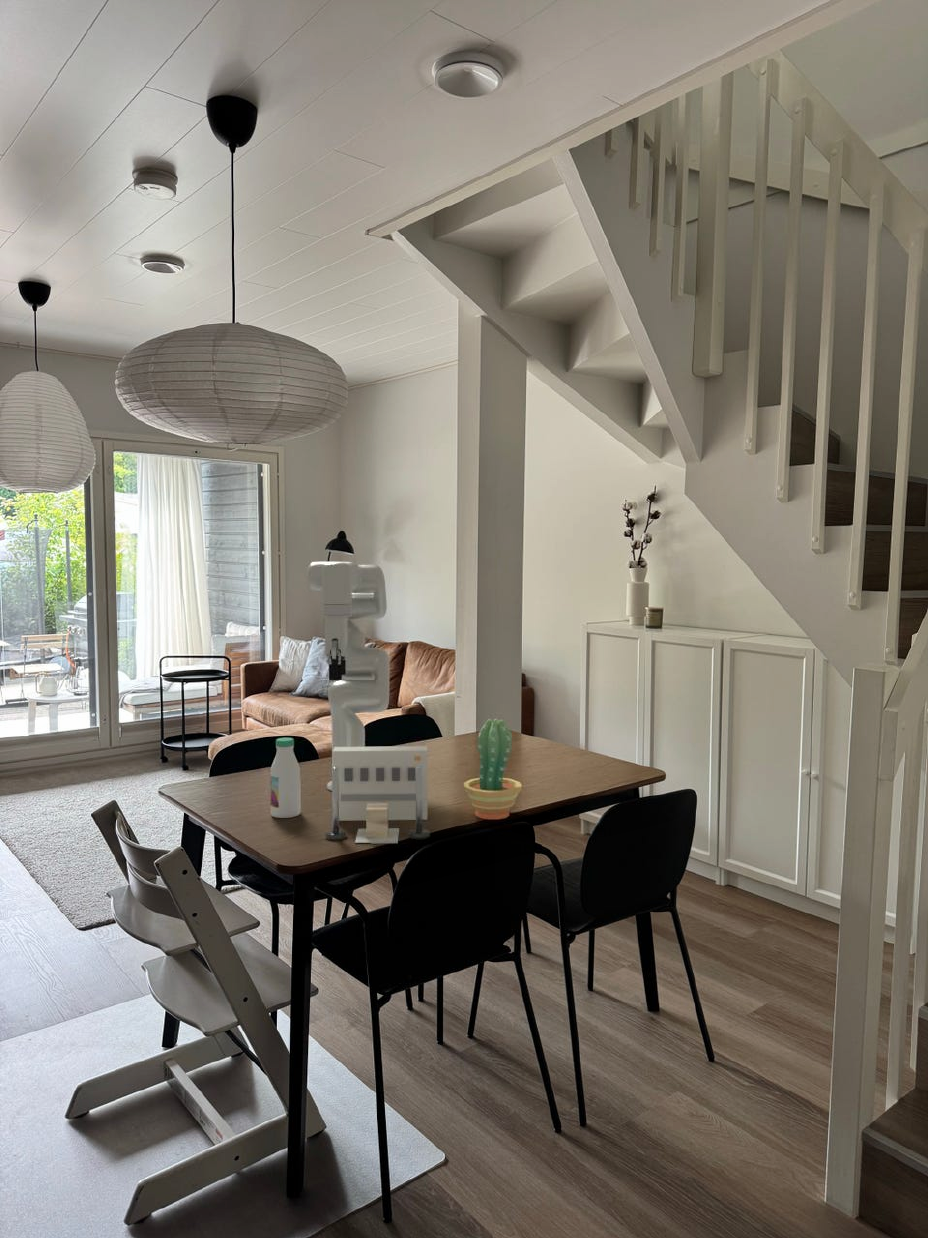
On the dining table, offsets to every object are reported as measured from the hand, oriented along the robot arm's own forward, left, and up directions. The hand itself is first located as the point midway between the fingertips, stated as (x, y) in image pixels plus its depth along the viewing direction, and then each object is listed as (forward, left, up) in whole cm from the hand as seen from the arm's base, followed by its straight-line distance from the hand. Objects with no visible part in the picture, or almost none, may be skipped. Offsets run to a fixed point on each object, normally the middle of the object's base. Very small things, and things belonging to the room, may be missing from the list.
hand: (337, 677), depth 221 cm
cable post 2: (+17, +21, -36) cm, 45 cm away
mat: (+17, +11, -36) cm, 42 cm away
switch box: (+2, +11, -36) cm, 38 cm away
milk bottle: (-2, -14, -36) cm, 39 cm away
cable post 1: (+17, +1, -36) cm, 40 cm away
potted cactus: (0, +40, -36) cm, 54 cm away
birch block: (+17, +11, -36) cm, 41 cm away
